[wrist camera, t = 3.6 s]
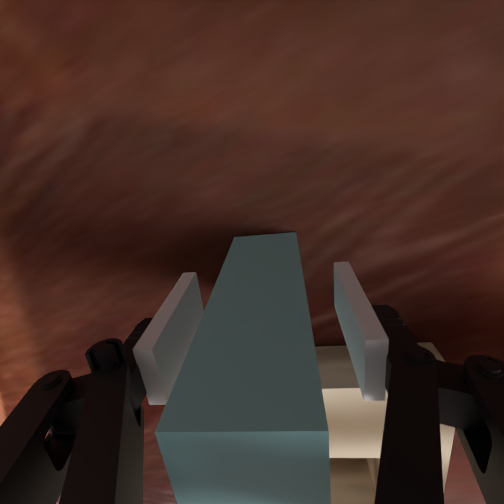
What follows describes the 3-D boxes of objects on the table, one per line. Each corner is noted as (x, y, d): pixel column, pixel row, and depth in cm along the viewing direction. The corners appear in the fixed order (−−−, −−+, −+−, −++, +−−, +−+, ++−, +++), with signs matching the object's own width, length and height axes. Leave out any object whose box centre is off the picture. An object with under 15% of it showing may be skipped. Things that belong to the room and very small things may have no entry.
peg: (234, 237, 20) (154, 432, 7) (296, 232, 20) (328, 431, 7) (241, 291, 22) (186, 534, 9) (299, 287, 21) (332, 538, 8)
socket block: (237, 349, 24) (229, 390, 20) (431, 342, 22) (462, 385, 18) (260, 499, 30) (258, 552, 26) (412, 502, 28) (432, 558, 25)
